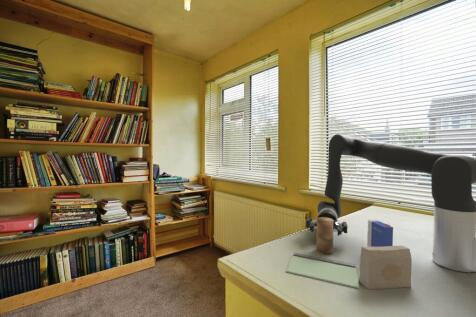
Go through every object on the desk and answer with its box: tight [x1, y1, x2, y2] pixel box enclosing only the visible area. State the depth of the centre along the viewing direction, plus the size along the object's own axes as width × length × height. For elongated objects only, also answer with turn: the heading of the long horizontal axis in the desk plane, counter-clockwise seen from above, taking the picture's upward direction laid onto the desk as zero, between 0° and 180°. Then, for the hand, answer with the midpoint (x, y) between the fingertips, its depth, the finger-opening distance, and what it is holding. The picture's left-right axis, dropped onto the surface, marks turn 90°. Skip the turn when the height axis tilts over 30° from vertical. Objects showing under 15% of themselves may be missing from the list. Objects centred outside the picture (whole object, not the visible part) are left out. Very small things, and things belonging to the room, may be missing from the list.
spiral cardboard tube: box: [315, 217, 334, 256], centre depth 76 cm, size 5×5×11 cm
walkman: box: [366, 219, 394, 247], centre depth 71 cm, size 8×3×12 cm, turn 3°
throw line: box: [293, 252, 357, 269], centre depth 70 cm, size 18×2×1 cm, turn 66°
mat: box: [286, 255, 360, 290], centre depth 64 cm, size 18×10×1 cm, turn 66°
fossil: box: [358, 245, 413, 290], centre depth 57 cm, size 12×4×10 cm, turn 97°
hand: (325, 230), depth 78 cm, fingers open, 8 cm apart
